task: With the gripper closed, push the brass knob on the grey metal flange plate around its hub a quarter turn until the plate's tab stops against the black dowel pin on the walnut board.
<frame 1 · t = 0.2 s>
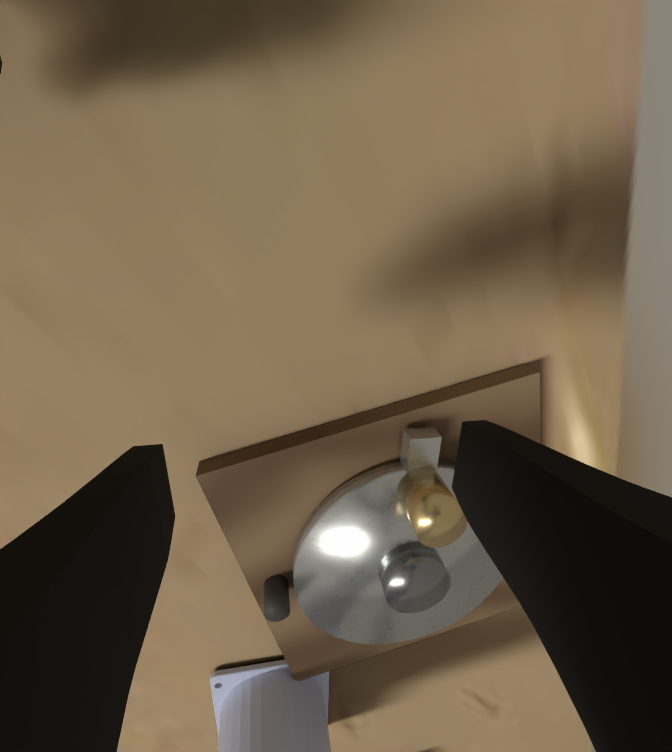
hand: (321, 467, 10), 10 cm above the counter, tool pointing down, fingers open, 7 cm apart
flange plate: (416, 567, 21), point 3 cm above the counter, hinge at 0.0°
walnut board: (395, 533, 25), on the counter
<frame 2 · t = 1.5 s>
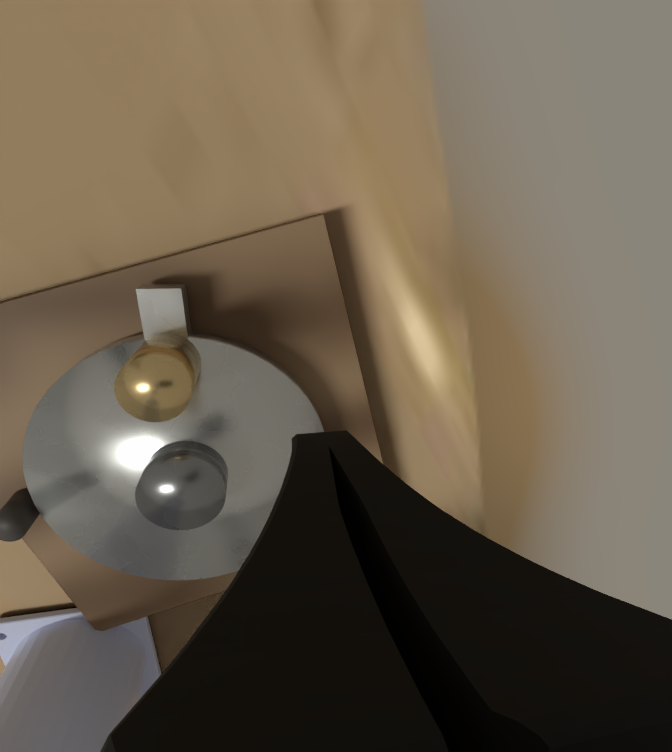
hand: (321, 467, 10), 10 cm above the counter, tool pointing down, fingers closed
flange plate: (180, 469, 17), point 3 cm above the counter, hinge at 0.0°
walnut board: (195, 445, 20), on the counter
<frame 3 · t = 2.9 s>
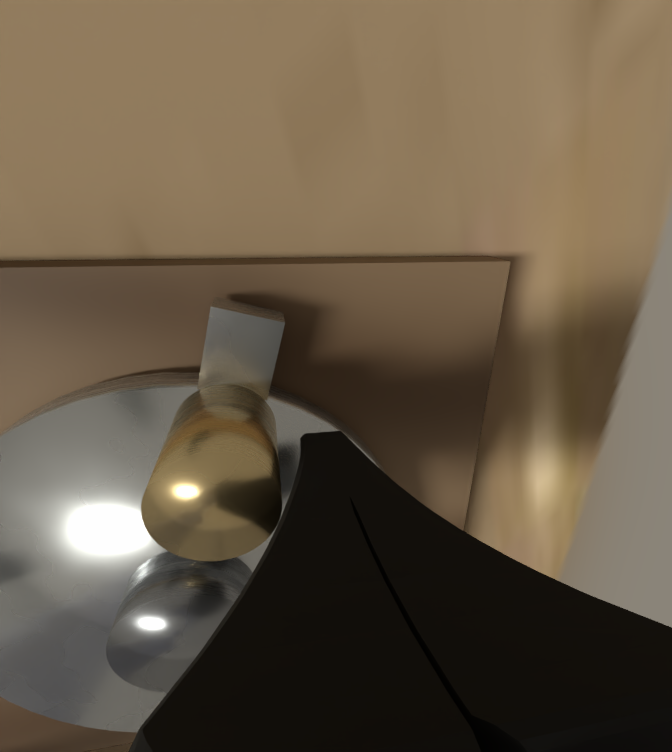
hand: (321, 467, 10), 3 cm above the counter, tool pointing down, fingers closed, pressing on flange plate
flange plate: (193, 599, 10), point 3 cm above the counter, hinge at 0.1°, touching gripper
walnut board: (203, 530, 14), on the counter
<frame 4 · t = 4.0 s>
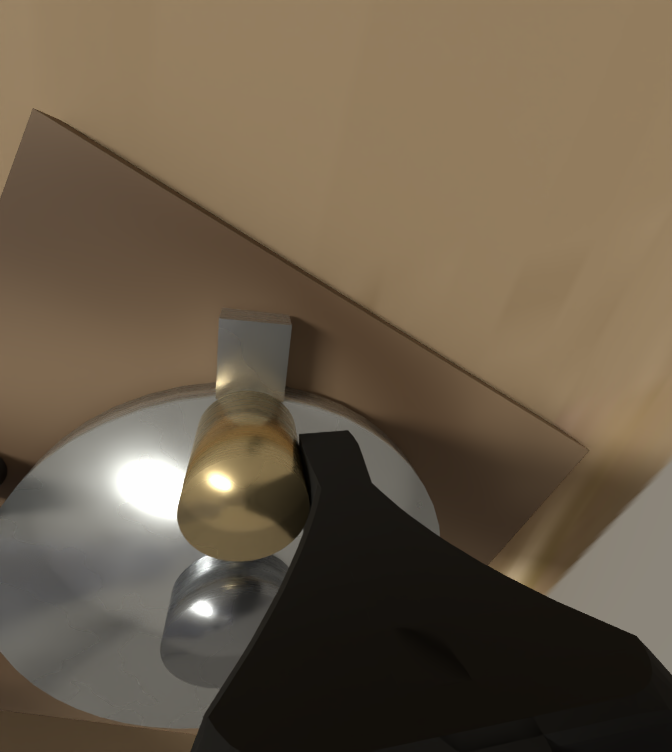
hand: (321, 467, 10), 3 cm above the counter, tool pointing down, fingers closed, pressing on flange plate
flange plate: (235, 598, 11), point 3 cm above the counter, hinge at 39.3°, touching gripper
walnut board: (238, 532, 14), on the counter
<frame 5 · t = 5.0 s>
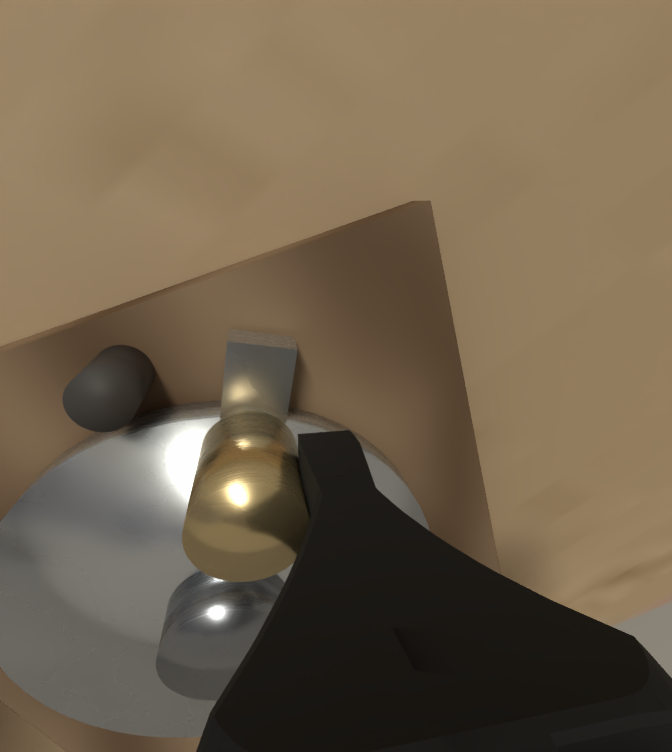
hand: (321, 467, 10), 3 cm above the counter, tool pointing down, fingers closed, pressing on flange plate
flange plate: (231, 612, 11), point 3 cm above the counter, hinge at 76.8°, touching gripper
walnut board: (234, 544, 14), on the counter
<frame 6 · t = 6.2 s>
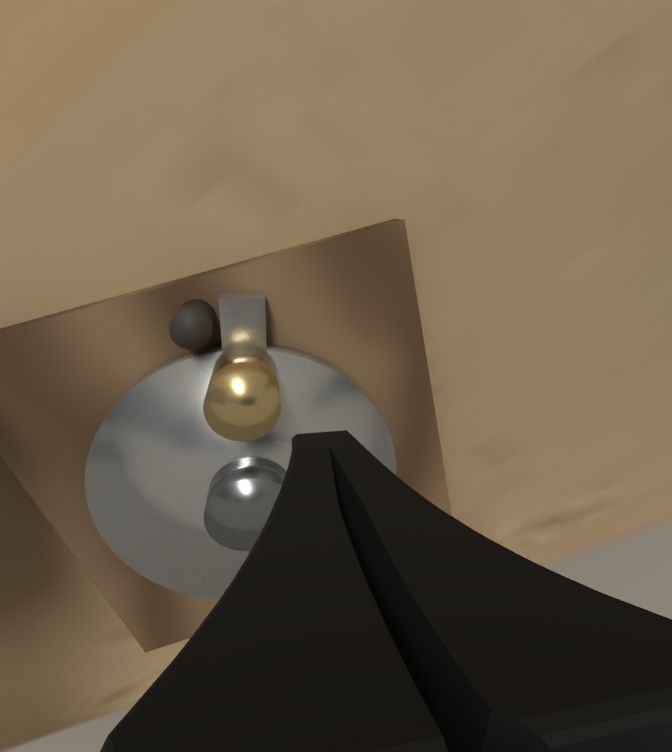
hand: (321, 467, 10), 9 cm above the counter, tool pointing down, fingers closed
flange plate: (250, 487, 16), point 3 cm above the counter, hinge at 88.6°
walnut board: (252, 459, 20), on the counter
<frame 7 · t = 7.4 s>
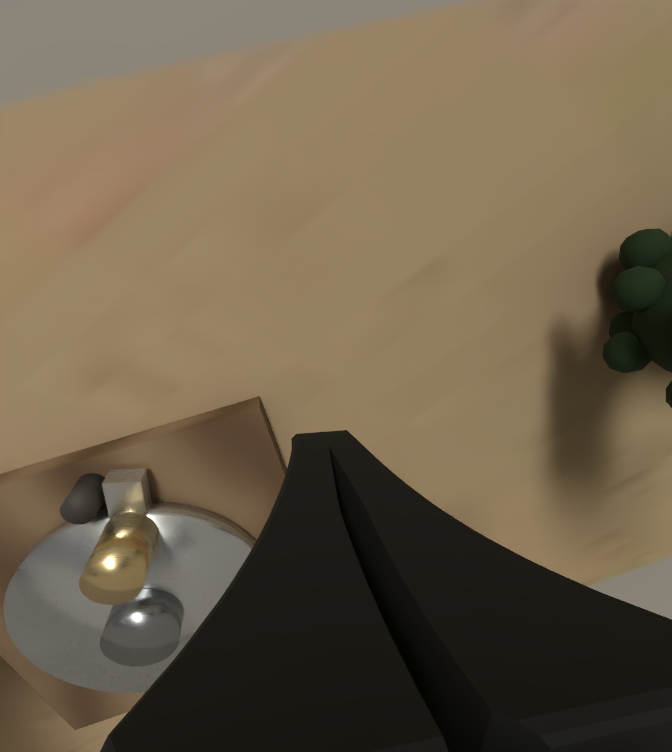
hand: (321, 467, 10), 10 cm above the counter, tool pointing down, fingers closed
flange plate: (140, 617, 20), point 3 cm above the counter, hinge at 88.6°
walnut board: (158, 574, 23), on the counter
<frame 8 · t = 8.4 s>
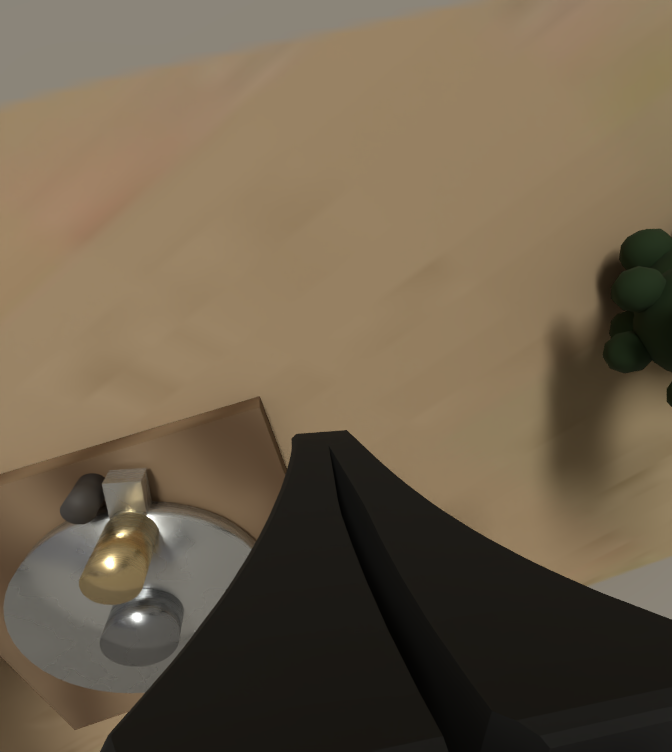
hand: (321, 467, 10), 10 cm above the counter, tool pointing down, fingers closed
flange plate: (140, 617, 20), point 3 cm above the counter, hinge at 88.6°
walnut board: (158, 574, 23), on the counter
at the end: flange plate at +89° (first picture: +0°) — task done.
